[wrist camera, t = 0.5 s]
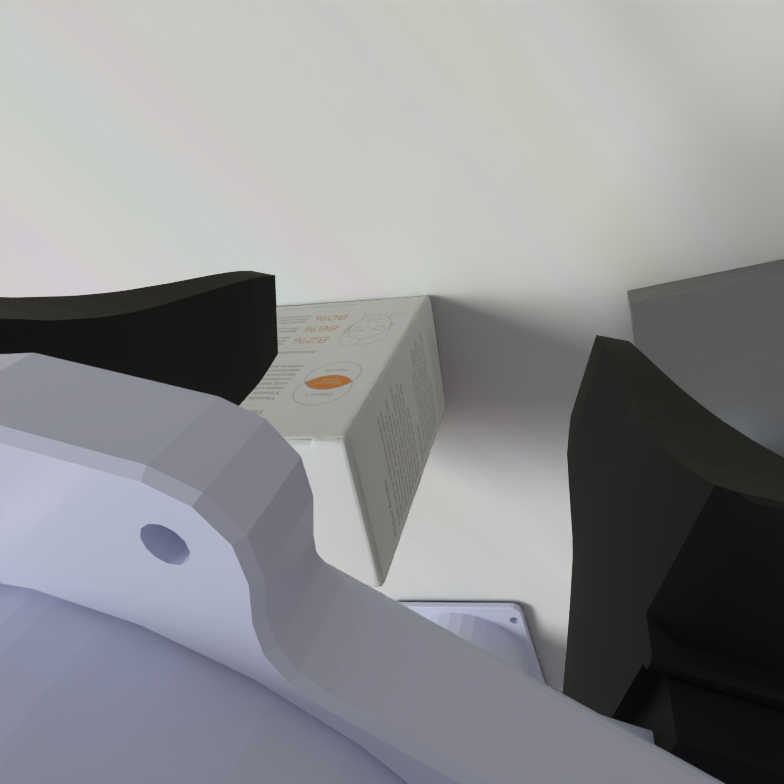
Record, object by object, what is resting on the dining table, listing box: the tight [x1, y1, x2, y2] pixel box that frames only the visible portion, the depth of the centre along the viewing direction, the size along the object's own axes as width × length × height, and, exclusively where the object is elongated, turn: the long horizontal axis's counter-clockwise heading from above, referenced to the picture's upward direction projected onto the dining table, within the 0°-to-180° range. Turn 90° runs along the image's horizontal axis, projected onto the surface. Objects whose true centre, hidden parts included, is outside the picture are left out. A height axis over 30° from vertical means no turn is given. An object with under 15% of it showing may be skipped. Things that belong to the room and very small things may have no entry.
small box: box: [239, 296, 445, 587], centre depth 20 cm, size 8×6×10 cm
